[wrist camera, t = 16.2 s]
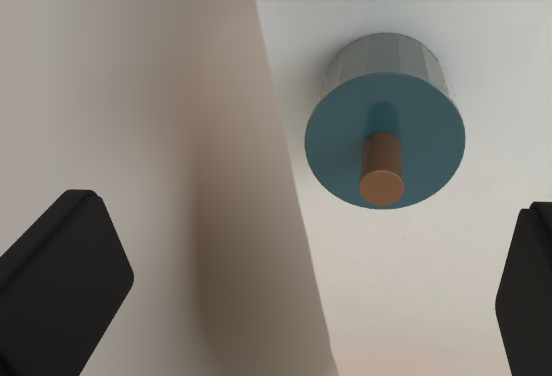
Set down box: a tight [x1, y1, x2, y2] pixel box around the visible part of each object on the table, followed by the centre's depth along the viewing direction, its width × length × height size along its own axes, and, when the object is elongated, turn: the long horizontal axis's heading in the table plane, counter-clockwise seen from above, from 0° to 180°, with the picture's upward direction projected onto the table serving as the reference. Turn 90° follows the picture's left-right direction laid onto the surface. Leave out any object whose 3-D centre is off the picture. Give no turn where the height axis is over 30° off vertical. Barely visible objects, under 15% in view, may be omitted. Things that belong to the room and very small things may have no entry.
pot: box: [318, 33, 450, 102], centre depth 31 cm, size 9×9×8 cm
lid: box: [305, 69, 466, 209], centre depth 26 cm, size 10×10×6 cm
